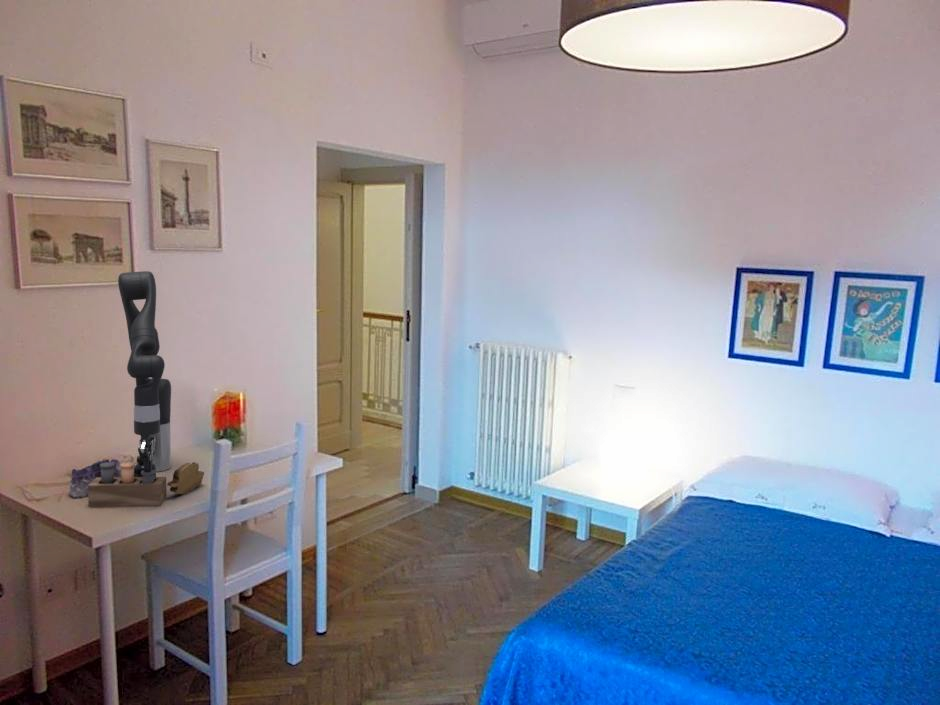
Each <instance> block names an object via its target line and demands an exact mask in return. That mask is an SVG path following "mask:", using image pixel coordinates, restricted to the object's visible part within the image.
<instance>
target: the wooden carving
mask: <svg viewBox="0 0 940 705" xmlns="http://www.w3.org/2000/svg"><path fill="white" fill-rule="evenodd" d="M199 468H200V466H199V463H198V462H195V461H193V462H192V463H191V462H185V463H184V464H182V465H180V466H179V467H178V468H177V469H175V470H174V472H173V474H172V480H171V481H168V482H166V486H167V487H169V491H170V492H173V493H175V494H177V495H185V494H188V493H190V492H191V491H193V489H194V488H195V487H196V486H197V487H198V486H200V485H202V482H203V479H204V475H205V472H204V471H202V470H199Z"/></svg>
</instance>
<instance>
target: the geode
mask: <svg viewBox="0 0 940 705" xmlns="http://www.w3.org/2000/svg"><path fill="white" fill-rule="evenodd" d="M106 462H113V463H115V466H114V477H122V471H121V467H120V464H121V463H120V461H119V460H118V459H114V458H113V459H111V460H110V459H109V458H108V459H104V460H97V461H95V462H94V463H92V464H90V465H88V466H87V465H86V466H85V467H84V468H81V469H79V470H78V469H76V468H73V469H72V470H71V480H70V481H69V490H68V496H69V497H70V498H72V499H73V500H77V499H83V498H88V485H89V484H90V483H91V482H92V481H93V480H94V479H95V478H96V477H101V467H100V464H101V463H106Z"/></svg>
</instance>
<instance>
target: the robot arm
mask: <svg viewBox="0 0 940 705" xmlns="http://www.w3.org/2000/svg"><path fill="white" fill-rule="evenodd" d="M117 282H118V283H117V284H118V289H119V294H120V299H121V303H122V307H123V311H124V315H125V319H126V326H127V335H128V341H129V346H130V351H131V352H130V356H129V359H128V361H127V366H126V367H127V368H126V370H127V371H126V372H127V374H128V375H129V376H130V377H131V378H132V379H135V387H134V390H133V391H134V392H133V399H134V400H133V401H134V404H133V405H134V407H133V433H134V435H137V436H140V439H139V440H138V445H139V447H138V448H137V451H138V456H139V455H140V459H141V460H143V469H144V472H151V470H152V463H154V464H155V465H156V473H158V472H163V471H167V470H170V469H171V467H172V466H171V463H172V462H171V460H172V458H171V457H172V456H171V454H172V453H171V452H172V451H171V450H172V448H171V412H172V411H171V404H172V403H171V400H172V384H171V381H170V380H169V379H167V378H162V377H163V375H164V374H163V373H164V371H165V367H166V366H165V360H164V358H163V357H162V356H160V355H158V354H159V351H160V341H159V340H160V339H159V333H158V330H157V328H156V325H155V324H156V307H157V306H156V305H157V284H156V279H155V276H154V274H153V272H151V271H148V270H146V271H143V270H142V271H131V272H129V271H128V272H122V273H120V274H119V275H118V278H117ZM141 300H145V302H144V304H143V306H142V308H141V310H139V309H138V307H137V305H136V304H135V302H134V301H141ZM152 459H153V462H152Z"/></svg>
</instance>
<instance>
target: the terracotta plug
mask: <svg viewBox="0 0 940 705" xmlns="http://www.w3.org/2000/svg"><path fill="white" fill-rule="evenodd" d="M135 465H136V463H135V462H133V461H132V462H131V461H127V462H126V461H125V462H121V463H120V464H119V468H120V469H121V471H122V484H126V483H134V466H135Z"/></svg>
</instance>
